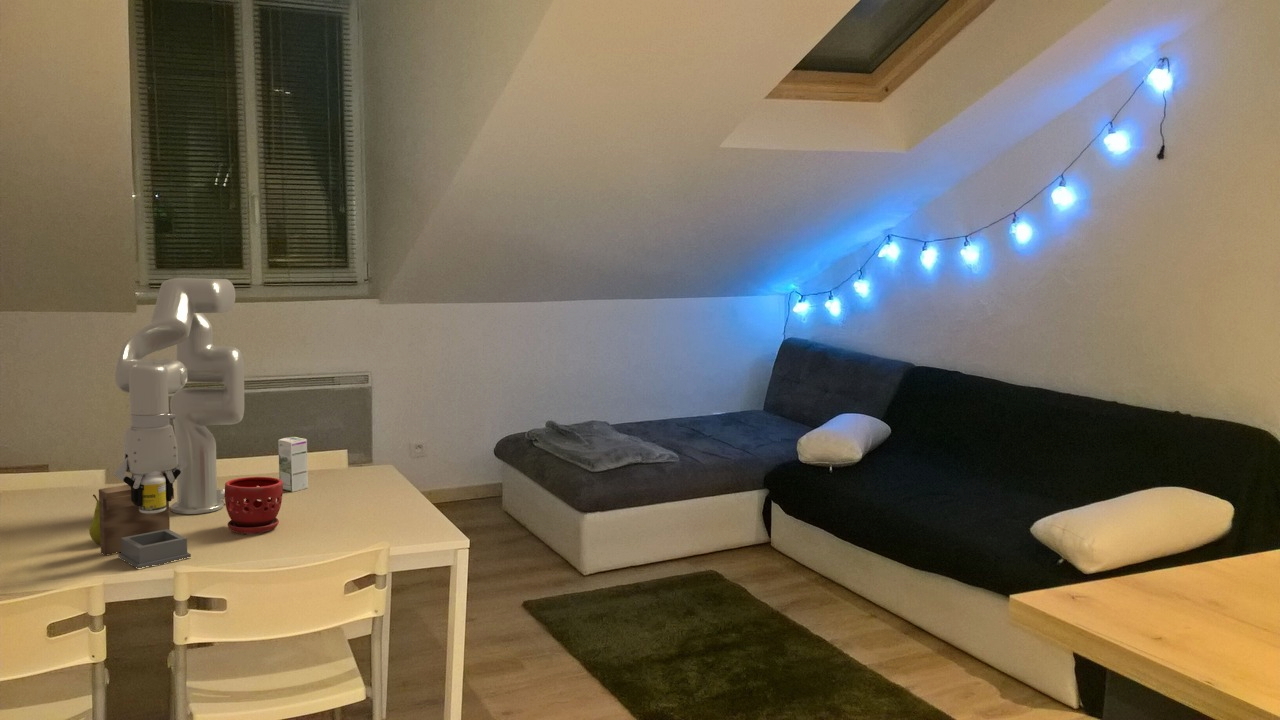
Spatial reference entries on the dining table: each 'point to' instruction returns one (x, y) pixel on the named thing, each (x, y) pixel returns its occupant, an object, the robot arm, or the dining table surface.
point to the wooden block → (125, 518)
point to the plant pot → (253, 504)
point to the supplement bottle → (153, 493)
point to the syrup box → (293, 463)
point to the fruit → (95, 524)
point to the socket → (153, 548)
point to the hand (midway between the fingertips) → (152, 501)
